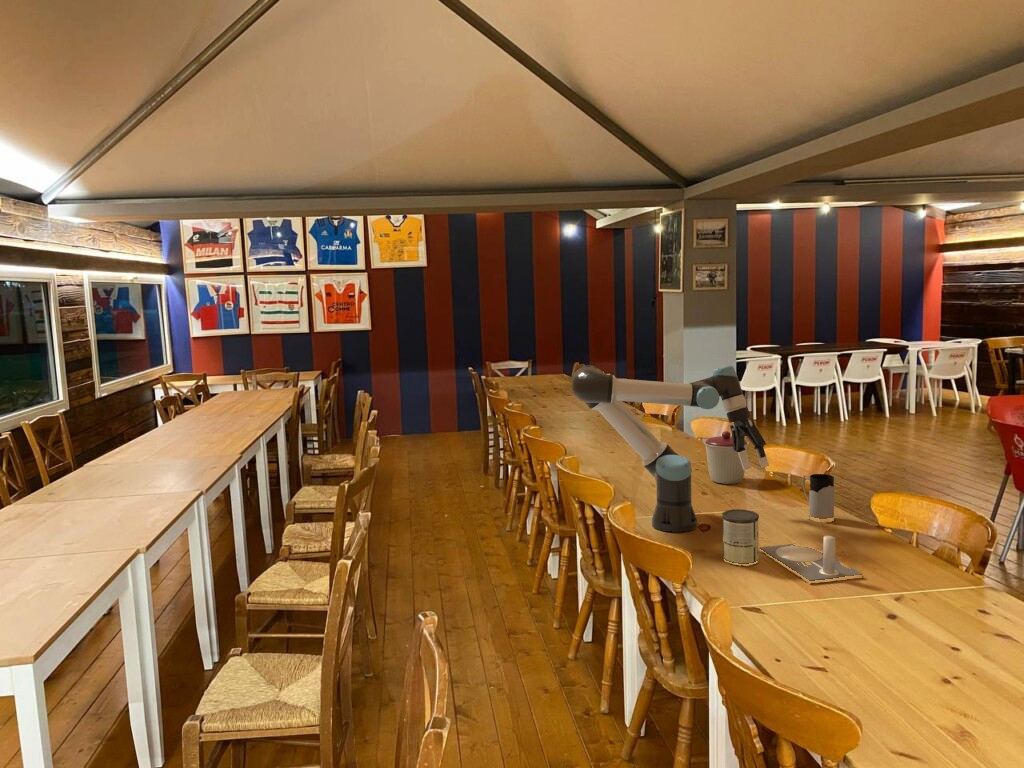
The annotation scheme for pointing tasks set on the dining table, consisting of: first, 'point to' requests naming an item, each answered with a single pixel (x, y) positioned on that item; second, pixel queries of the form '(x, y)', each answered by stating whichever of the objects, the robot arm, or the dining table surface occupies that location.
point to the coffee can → (740, 536)
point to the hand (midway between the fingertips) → (756, 468)
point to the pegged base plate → (811, 560)
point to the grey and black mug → (820, 495)
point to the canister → (724, 459)
